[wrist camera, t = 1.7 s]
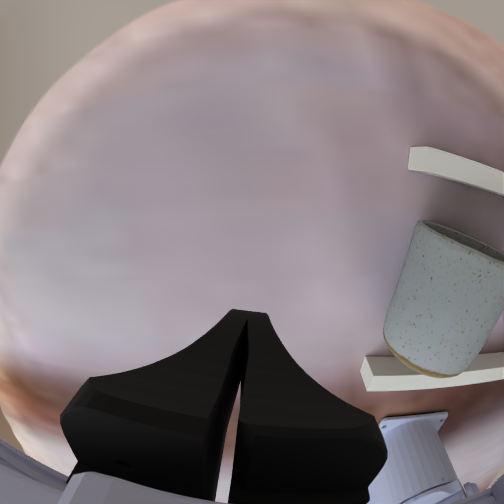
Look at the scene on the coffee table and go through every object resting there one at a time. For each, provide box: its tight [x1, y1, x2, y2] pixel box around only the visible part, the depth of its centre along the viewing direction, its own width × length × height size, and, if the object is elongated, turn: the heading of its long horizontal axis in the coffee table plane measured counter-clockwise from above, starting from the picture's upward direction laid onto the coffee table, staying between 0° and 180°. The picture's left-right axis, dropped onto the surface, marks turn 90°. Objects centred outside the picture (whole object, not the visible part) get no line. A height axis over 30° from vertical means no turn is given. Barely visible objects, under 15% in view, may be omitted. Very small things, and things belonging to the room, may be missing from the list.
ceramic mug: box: [383, 220, 504, 378], centre depth 16 cm, size 11×8×8 cm
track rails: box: [360, 146, 504, 391], centre depth 18 cm, size 17×18×2 cm
